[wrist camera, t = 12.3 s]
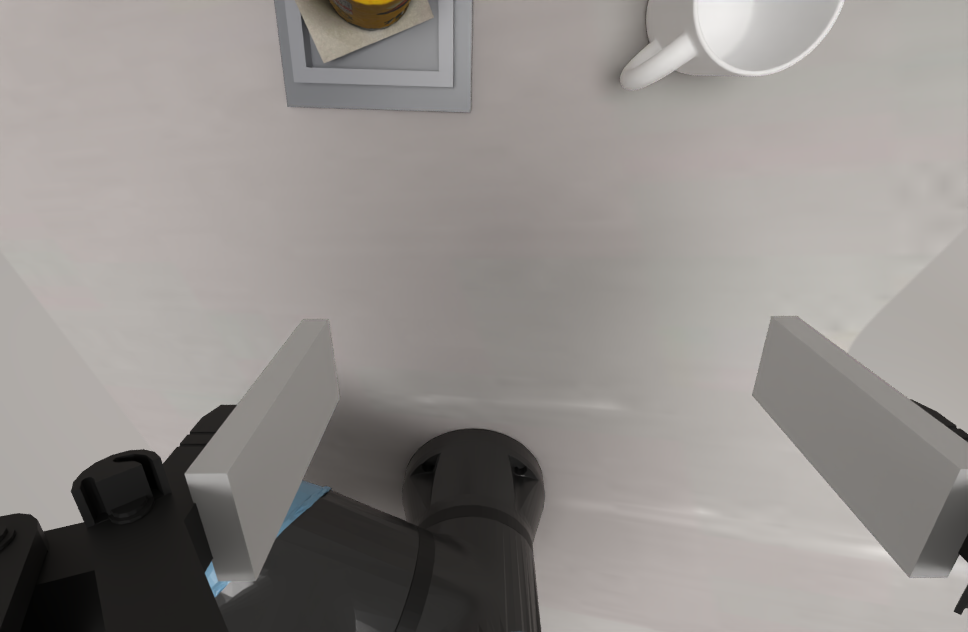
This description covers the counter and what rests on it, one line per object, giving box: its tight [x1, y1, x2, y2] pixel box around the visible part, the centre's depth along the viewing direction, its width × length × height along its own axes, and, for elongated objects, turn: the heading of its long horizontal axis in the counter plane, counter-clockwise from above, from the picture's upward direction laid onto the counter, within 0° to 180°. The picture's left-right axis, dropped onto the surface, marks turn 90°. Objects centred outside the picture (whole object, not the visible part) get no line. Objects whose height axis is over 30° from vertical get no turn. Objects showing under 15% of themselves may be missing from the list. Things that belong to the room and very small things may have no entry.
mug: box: [620, 0, 845, 90], centre depth 33 cm, size 12×8×10 cm
